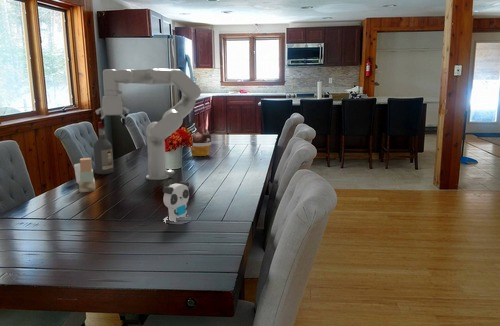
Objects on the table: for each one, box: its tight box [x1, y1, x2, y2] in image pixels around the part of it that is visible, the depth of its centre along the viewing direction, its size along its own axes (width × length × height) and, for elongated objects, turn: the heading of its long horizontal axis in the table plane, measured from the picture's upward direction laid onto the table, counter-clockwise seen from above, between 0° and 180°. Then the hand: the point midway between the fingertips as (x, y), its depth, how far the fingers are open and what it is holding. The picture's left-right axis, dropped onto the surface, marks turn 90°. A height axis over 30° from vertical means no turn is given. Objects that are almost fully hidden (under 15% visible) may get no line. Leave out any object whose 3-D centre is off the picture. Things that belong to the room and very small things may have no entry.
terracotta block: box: [79, 157, 93, 172], centre depth 210 cm, size 5×5×6 cm
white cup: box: [73, 162, 81, 185], centre depth 226 cm, size 8×8×10 cm
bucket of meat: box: [189, 126, 212, 157], centre depth 304 cm, size 20×16×20 cm
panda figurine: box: [162, 180, 190, 224], centre depth 167 cm, size 12×11×15 cm
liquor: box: [93, 121, 114, 175], centre depth 247 cm, size 9×9×30 cm
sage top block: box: [80, 168, 95, 182], centre depth 211 cm, size 6×6×5 cm
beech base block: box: [78, 177, 96, 193], centre depth 212 cm, size 7×7×5 cm
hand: (113, 126), depth 224 cm, fingers open, 9 cm apart
